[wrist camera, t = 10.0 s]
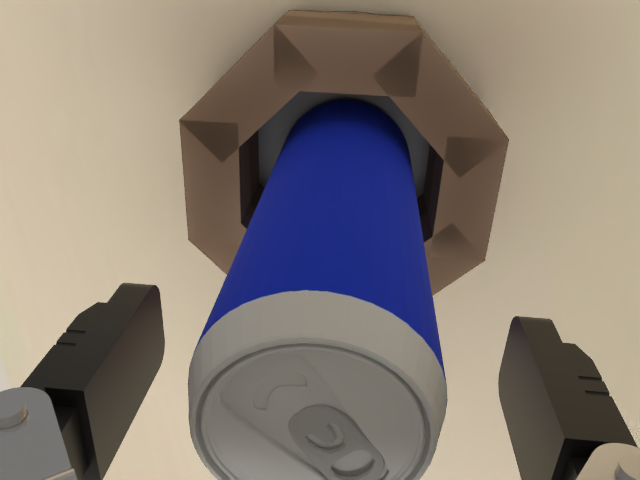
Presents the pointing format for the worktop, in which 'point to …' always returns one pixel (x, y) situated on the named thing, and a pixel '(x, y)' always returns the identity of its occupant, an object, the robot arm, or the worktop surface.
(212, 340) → the beverage can
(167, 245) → the worktop surface
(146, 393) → the robot arm
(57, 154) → the worktop surface
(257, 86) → the collar
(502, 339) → the worktop surface
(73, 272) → the worktop surface
